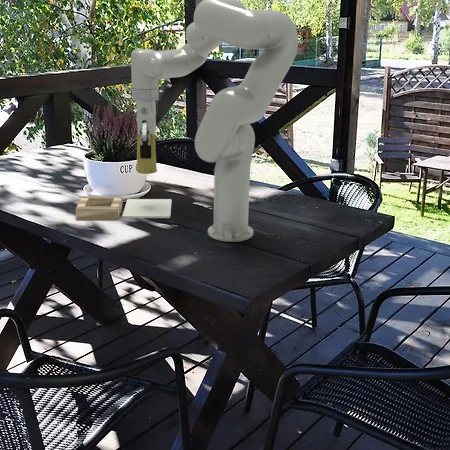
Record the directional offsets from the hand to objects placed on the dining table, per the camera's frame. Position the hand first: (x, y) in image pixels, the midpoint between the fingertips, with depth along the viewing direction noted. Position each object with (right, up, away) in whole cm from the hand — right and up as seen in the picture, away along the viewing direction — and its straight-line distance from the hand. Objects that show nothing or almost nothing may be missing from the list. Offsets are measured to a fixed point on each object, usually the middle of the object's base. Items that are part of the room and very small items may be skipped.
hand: (146, 155), depth 178 cm
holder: (-14, -17, +1) cm, 22 cm away
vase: (0, -5, +2) cm, 5 cm away
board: (0, -16, +6) cm, 17 cm away
